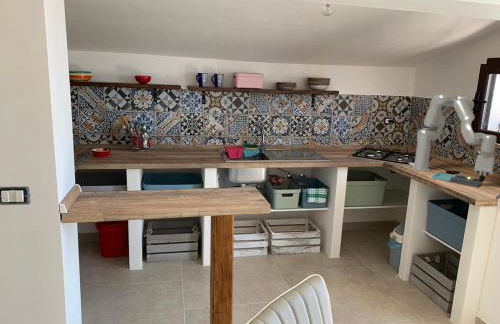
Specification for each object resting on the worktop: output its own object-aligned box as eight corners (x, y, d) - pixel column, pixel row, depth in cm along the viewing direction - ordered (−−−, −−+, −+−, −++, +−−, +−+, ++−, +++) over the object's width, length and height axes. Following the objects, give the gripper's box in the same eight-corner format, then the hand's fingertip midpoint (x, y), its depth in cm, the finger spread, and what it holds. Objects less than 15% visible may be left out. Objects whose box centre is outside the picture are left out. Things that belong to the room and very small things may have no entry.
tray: (431, 178, 262) (431, 175, 262) (438, 175, 272) (438, 172, 272) (449, 182, 255) (449, 179, 254) (455, 178, 265) (456, 176, 264)
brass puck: (464, 180, 252) (465, 176, 252) (466, 179, 256) (467, 175, 256) (472, 182, 249) (473, 178, 249) (474, 180, 253) (475, 177, 252)
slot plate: (449, 182, 255) (450, 177, 254) (456, 178, 265) (456, 174, 264) (476, 187, 244) (477, 182, 243) (481, 183, 254) (482, 179, 253)
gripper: (472, 152, 246) (467, 180, 250) (498, 156, 236) (493, 185, 240) (475, 151, 251) (470, 178, 256) (501, 155, 242) (496, 182, 246)
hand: (481, 181), depth 248 cm, fingers closed
